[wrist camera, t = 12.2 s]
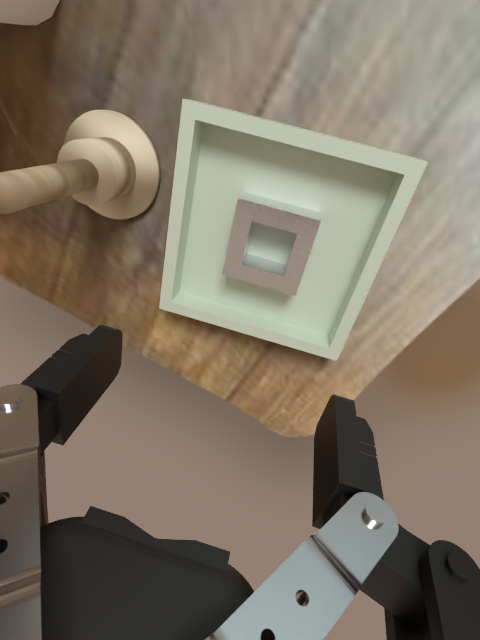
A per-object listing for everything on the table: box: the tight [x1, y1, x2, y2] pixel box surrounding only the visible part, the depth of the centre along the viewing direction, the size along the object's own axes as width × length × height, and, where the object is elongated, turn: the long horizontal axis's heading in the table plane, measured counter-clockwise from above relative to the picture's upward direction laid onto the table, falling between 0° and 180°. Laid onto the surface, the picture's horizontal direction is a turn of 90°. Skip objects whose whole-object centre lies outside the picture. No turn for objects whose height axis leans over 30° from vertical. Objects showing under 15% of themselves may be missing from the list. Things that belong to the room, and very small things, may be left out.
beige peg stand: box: [0, 110, 161, 219], centre depth 24 cm, size 8×8×12 cm
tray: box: [159, 99, 428, 361], centre depth 28 cm, size 16×16×3 cm
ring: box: [222, 192, 321, 296], centre depth 27 cm, size 6×6×2 cm
